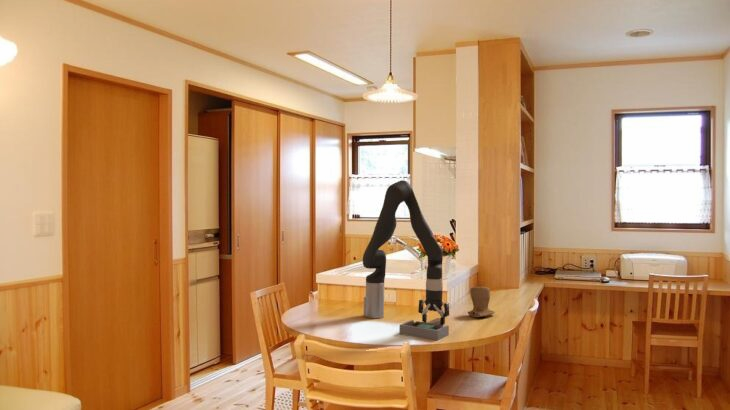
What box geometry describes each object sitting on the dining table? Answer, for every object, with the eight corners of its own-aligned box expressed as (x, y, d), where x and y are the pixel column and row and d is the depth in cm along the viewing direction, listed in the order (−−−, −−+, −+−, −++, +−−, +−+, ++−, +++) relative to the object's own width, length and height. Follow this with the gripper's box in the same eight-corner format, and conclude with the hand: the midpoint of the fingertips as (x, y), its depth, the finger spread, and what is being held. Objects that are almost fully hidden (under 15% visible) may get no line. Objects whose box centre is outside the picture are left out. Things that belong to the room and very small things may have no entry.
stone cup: (478, 311, 301) (479, 283, 300) (498, 315, 292) (498, 286, 292) (461, 315, 290) (461, 286, 290) (480, 319, 282) (481, 289, 281)
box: (399, 333, 251) (399, 324, 251) (411, 328, 260) (411, 320, 260) (437, 340, 241) (437, 330, 241) (448, 334, 250) (448, 325, 250)
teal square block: (416, 335, 250) (416, 326, 250) (422, 332, 255) (422, 323, 255) (428, 337, 247) (429, 328, 247) (434, 334, 252) (434, 325, 252)
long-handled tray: (412, 332, 254) (412, 323, 254) (428, 325, 268) (428, 316, 268) (437, 336, 248) (437, 326, 248) (452, 328, 262) (452, 319, 262)
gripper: (416, 287, 259) (415, 323, 259) (445, 291, 251) (444, 328, 252) (423, 285, 265) (422, 320, 266) (452, 288, 258) (451, 324, 258)
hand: (433, 324), depth 259 cm, fingers open, 8 cm apart
